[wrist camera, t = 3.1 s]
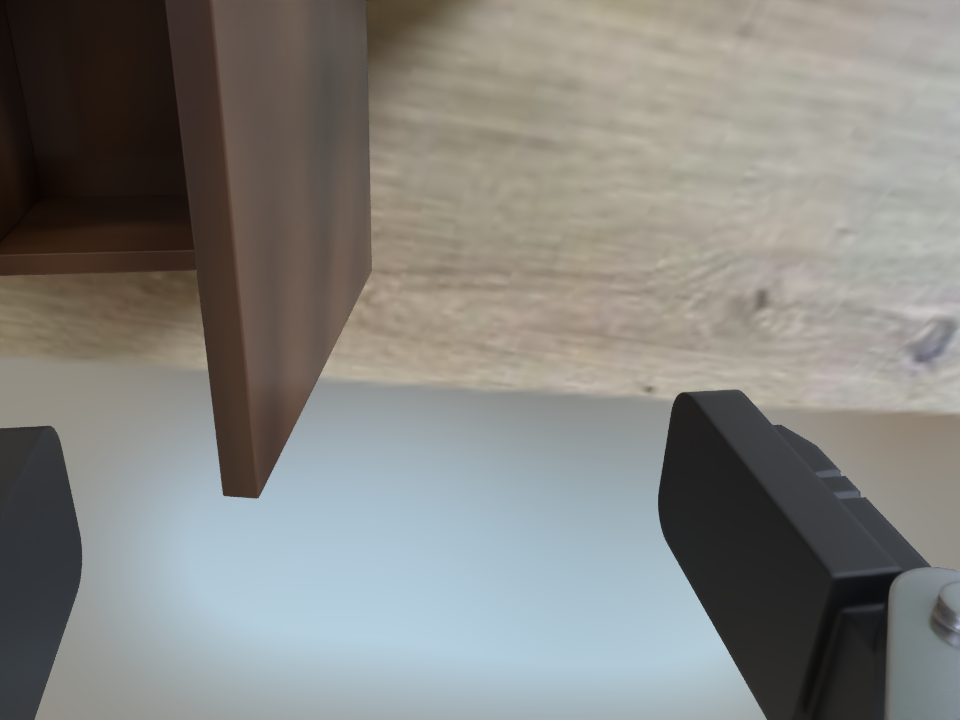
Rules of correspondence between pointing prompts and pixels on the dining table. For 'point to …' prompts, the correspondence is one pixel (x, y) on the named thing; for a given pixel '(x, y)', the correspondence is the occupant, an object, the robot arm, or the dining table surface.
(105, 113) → the box
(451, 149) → the dining table surface
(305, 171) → the lid
